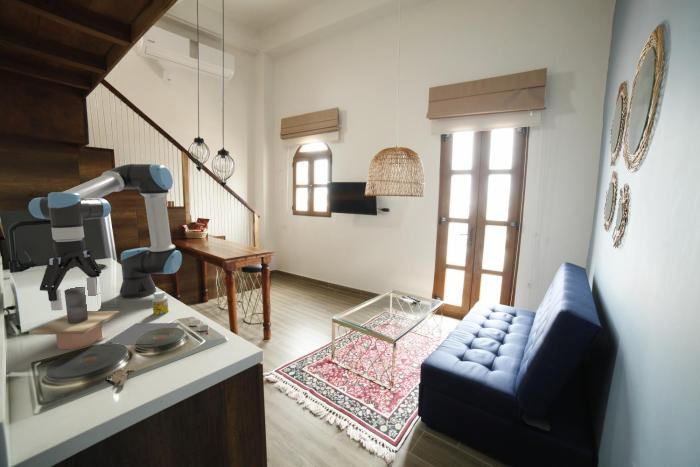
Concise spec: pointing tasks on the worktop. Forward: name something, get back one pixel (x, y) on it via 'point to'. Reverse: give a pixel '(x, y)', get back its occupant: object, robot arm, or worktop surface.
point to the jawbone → (120, 377)
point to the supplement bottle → (160, 303)
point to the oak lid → (75, 316)
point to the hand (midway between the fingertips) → (76, 302)
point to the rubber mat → (137, 332)
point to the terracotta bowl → (78, 338)
